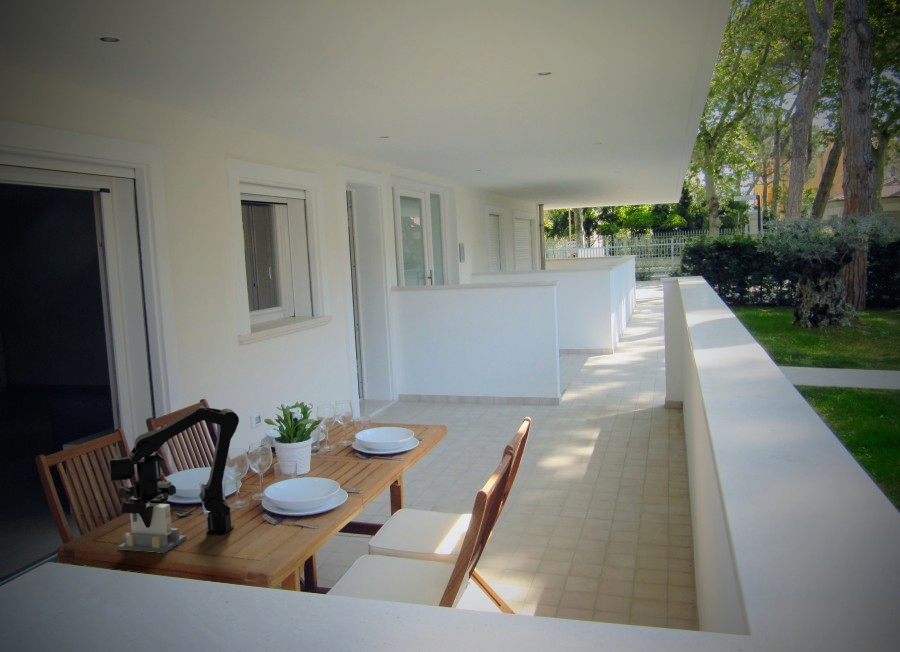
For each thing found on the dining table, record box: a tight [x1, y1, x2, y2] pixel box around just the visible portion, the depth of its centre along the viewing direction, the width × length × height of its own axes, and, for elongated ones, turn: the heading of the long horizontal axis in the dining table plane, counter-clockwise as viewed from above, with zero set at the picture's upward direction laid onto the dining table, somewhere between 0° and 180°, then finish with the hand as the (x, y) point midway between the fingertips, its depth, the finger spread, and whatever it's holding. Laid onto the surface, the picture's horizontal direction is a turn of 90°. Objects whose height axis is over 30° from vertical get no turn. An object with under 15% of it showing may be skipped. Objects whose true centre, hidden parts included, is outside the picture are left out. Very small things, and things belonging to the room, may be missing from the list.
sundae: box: [158, 471, 173, 499], centre depth 243 cm, size 7×7×15 cm
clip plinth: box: [117, 527, 187, 554], centre depth 215 cm, size 16×11×4 cm
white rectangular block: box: [129, 503, 173, 535], centre depth 214 cm, size 13×4×9 cm, turn 76°
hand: (151, 525), depth 215 cm, fingers closed on white rectangular block, 3 cm apart
